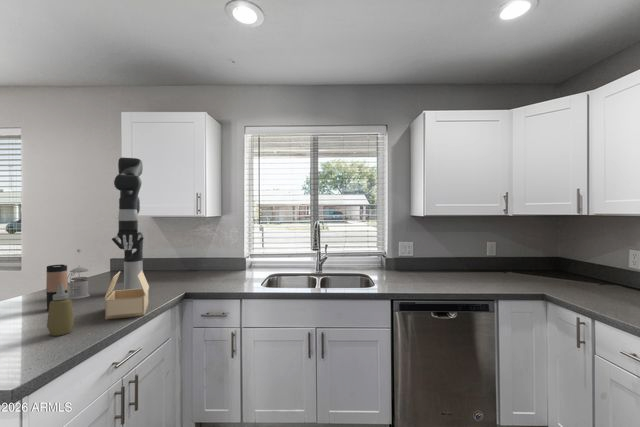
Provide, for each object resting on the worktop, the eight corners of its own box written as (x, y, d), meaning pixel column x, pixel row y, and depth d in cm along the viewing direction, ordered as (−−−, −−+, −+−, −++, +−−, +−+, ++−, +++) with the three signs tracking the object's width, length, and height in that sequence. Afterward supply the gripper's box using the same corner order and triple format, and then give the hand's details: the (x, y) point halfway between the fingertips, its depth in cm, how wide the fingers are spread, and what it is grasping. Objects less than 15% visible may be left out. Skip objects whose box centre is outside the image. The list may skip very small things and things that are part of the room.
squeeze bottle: (79, 329, 129) (79, 282, 129) (64, 337, 121) (63, 286, 121) (57, 329, 128) (57, 282, 128) (40, 337, 120) (40, 287, 120)
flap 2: (148, 287, 163) (141, 270, 161) (149, 287, 163) (142, 270, 162) (144, 295, 147) (136, 276, 146) (145, 295, 147) (137, 276, 146)
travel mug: (42, 312, 151) (42, 267, 151) (51, 307, 159) (51, 264, 159) (62, 310, 153) (62, 266, 153) (70, 306, 161) (70, 264, 161)
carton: (114, 306, 160) (114, 289, 160) (148, 303, 166) (148, 287, 166) (104, 321, 139) (104, 301, 139) (143, 317, 144) (143, 298, 144)
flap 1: (111, 290, 157) (119, 271, 158) (112, 290, 157) (120, 271, 158) (104, 298, 141) (112, 277, 142) (105, 298, 141) (113, 277, 143)
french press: (78, 299, 174) (78, 250, 174) (59, 298, 176) (59, 250, 176) (94, 294, 184) (94, 248, 184) (76, 293, 186) (76, 248, 186)
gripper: (145, 219, 158) (145, 256, 158) (112, 219, 153) (112, 258, 153) (143, 219, 151) (144, 258, 151) (109, 220, 146) (109, 260, 146)
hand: (128, 258), depth 152 cm, fingers closed
